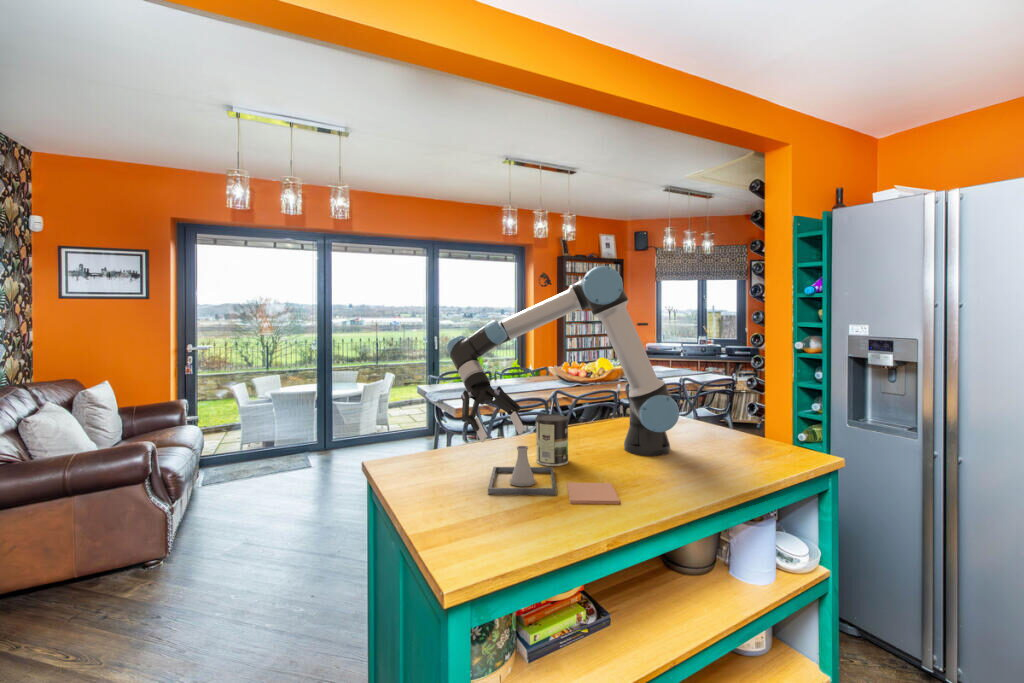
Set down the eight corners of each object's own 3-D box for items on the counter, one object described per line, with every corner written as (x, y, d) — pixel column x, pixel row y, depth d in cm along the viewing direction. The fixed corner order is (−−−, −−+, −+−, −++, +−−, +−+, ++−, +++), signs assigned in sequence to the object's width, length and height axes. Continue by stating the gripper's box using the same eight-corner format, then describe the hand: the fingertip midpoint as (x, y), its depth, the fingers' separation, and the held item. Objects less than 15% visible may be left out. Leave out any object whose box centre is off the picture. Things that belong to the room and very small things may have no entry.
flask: (538, 479, 128) (538, 444, 128) (532, 488, 122) (532, 451, 121) (513, 477, 130) (513, 442, 130) (506, 486, 124) (506, 449, 123)
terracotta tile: (611, 485, 123) (611, 482, 123) (619, 503, 111) (619, 500, 111) (566, 485, 123) (566, 482, 123) (570, 503, 112) (570, 500, 111)
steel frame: (553, 472, 134) (553, 467, 134) (556, 495, 117) (556, 489, 117) (493, 471, 135) (493, 466, 135) (488, 494, 118) (487, 488, 118)
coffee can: (566, 456, 150) (566, 413, 149) (570, 466, 139) (570, 421, 139) (535, 456, 150) (535, 414, 149) (536, 466, 140) (536, 421, 139)
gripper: (501, 382, 152) (530, 435, 141) (434, 389, 136) (462, 450, 125) (511, 367, 147) (542, 421, 136) (443, 374, 132) (472, 435, 121)
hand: (503, 435), depth 131 cm, fingers open, 13 cm apart
